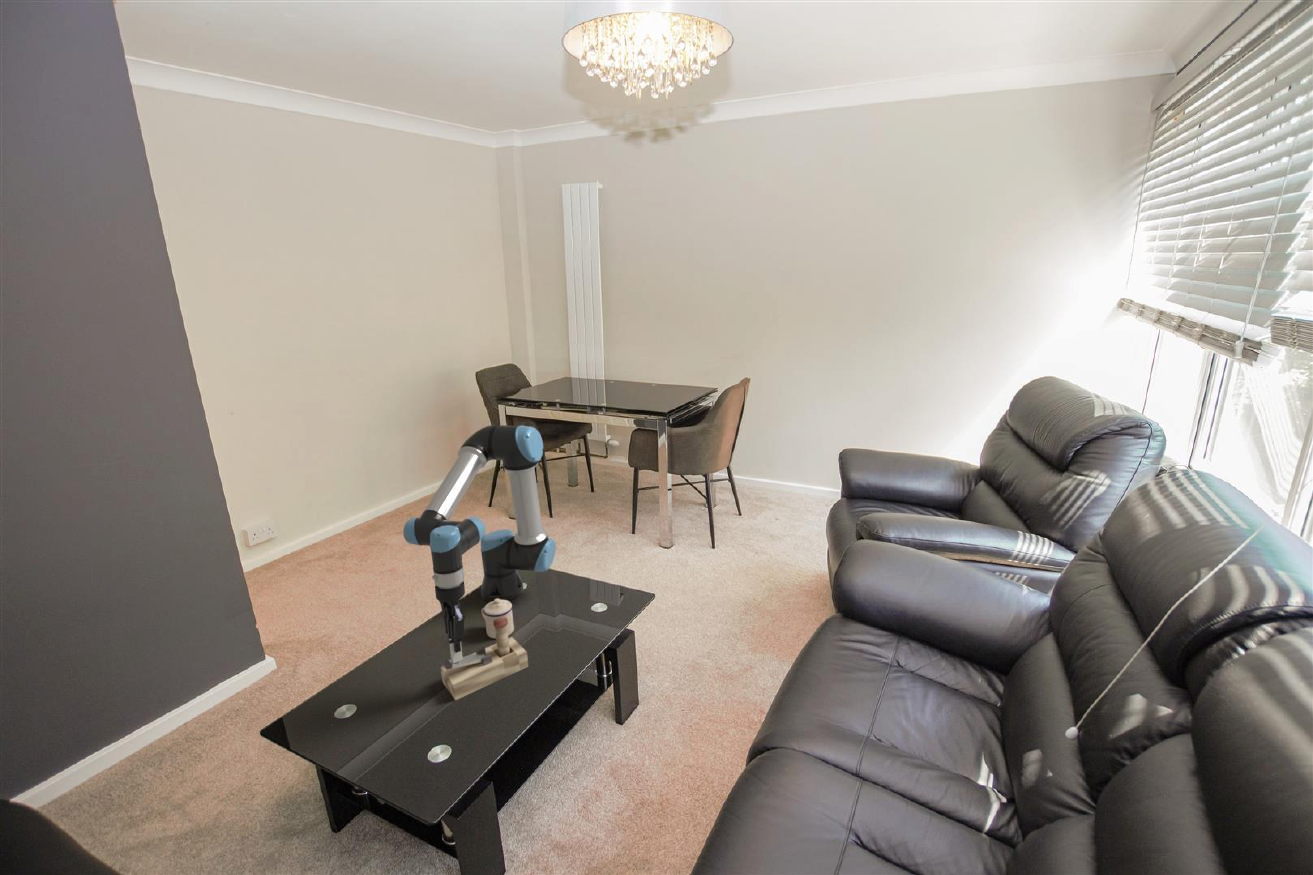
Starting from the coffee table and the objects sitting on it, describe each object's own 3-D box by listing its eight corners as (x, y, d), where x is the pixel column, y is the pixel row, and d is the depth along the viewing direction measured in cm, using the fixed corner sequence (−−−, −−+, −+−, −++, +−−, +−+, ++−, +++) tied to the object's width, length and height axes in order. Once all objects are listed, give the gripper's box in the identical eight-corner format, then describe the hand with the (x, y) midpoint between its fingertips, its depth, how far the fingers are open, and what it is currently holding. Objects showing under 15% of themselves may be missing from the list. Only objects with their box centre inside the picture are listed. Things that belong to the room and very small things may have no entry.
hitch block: (442, 682, 168) (439, 660, 166) (513, 651, 181) (511, 630, 179) (455, 700, 160) (452, 677, 158) (528, 666, 173) (526, 645, 171)
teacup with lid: (520, 627, 193) (517, 596, 190) (500, 642, 185) (497, 610, 182) (493, 618, 199) (490, 587, 196) (473, 632, 191) (469, 600, 188)
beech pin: (496, 665, 174) (491, 620, 171) (508, 659, 177) (503, 615, 173) (501, 671, 171) (496, 626, 168) (514, 665, 174) (509, 621, 170)
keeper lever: (442, 664, 163) (442, 661, 163) (482, 655, 170) (482, 652, 170) (446, 669, 160) (446, 666, 160) (486, 660, 168) (486, 657, 168)
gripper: (427, 578, 161) (435, 654, 166) (443, 596, 151) (452, 676, 156) (454, 570, 165) (461, 644, 171) (472, 587, 155) (479, 665, 161)
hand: (457, 659), depth 163 cm, fingers closed
